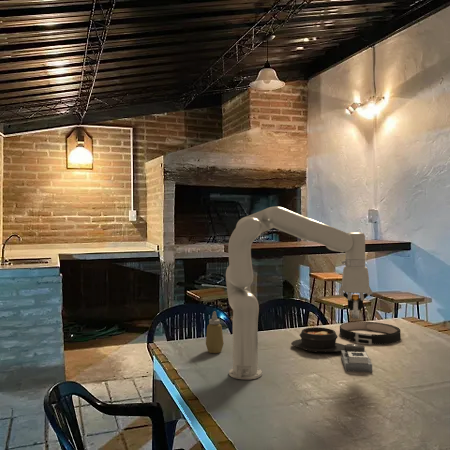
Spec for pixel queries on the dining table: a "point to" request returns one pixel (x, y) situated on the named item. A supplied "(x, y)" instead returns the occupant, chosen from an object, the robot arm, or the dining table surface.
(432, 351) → the dining table surface
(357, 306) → the orange and grey cylinder
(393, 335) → the belt
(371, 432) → the dining table surface
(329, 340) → the casserole
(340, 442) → the dining table surface
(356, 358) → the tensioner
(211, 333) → the squeeze bottle
